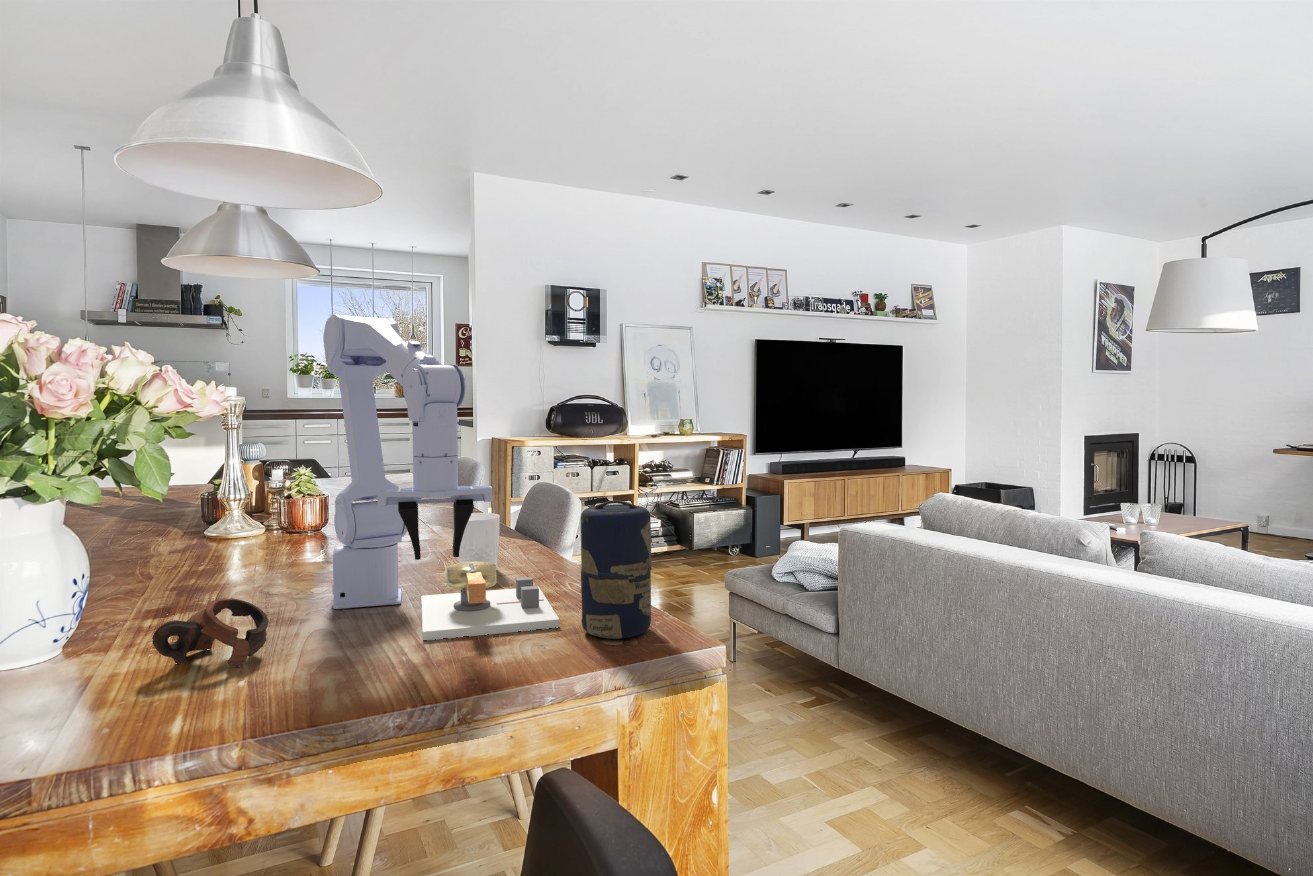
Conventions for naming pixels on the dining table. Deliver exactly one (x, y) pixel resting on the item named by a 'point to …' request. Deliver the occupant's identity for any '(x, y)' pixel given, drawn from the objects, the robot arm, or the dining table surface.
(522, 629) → the base
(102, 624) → the dining table surface
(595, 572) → the canister
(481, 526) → the white cup
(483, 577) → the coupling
